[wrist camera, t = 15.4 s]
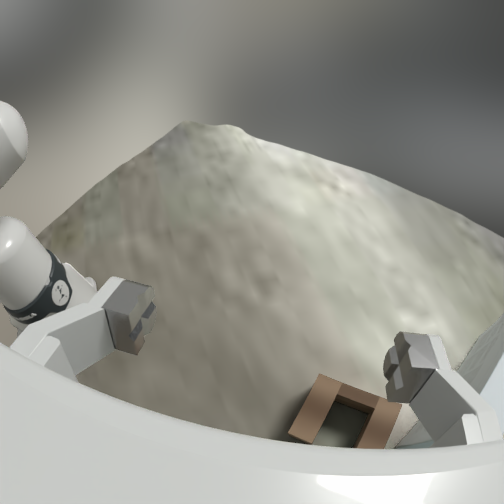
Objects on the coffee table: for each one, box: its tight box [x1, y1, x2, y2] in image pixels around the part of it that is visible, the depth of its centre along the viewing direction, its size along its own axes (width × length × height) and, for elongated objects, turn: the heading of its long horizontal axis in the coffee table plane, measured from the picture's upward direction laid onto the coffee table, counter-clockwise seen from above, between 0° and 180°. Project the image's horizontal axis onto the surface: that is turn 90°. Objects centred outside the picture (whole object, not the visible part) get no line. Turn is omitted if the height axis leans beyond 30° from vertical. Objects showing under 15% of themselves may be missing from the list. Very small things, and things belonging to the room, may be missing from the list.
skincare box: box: [396, 313, 504, 449], centre depth 26 cm, size 21×5×16 cm, turn 128°
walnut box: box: [288, 374, 402, 449], centre depth 32 cm, size 8×11×4 cm
